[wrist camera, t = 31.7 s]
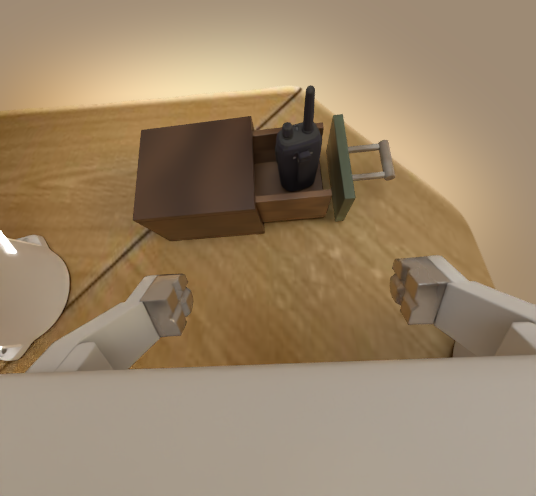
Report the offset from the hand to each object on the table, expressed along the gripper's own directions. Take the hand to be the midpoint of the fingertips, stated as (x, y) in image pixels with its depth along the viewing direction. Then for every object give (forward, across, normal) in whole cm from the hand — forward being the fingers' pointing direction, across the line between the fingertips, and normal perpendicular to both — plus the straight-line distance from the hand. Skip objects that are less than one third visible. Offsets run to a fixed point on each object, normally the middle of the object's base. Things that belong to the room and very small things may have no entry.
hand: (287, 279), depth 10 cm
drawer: (+28, +4, -5) cm, 29 cm away
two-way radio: (+28, +2, -4) cm, 28 cm away
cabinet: (+29, -10, -6) cm, 31 cm away
